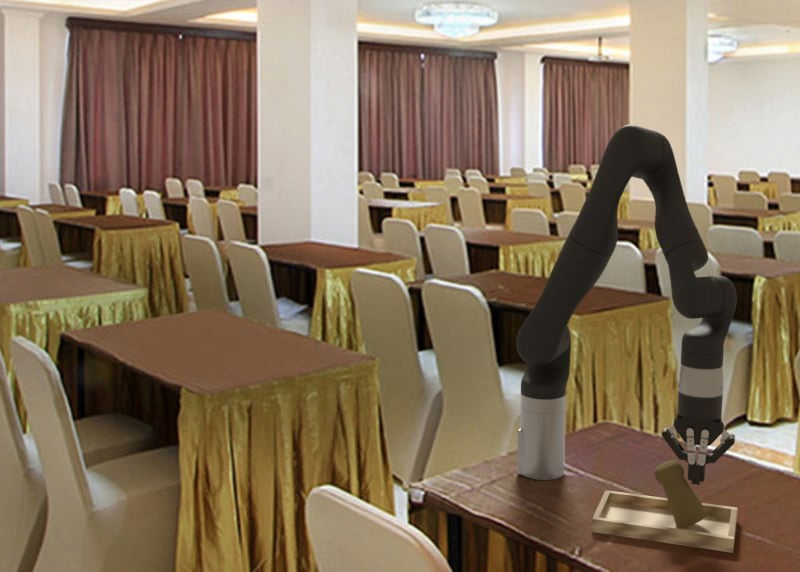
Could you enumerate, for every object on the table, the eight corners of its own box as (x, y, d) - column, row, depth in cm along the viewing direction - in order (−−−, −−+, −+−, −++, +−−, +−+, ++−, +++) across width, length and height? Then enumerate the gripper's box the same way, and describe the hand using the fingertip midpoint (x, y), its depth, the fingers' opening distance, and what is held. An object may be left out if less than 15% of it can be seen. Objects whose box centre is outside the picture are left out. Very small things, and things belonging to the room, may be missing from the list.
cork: (672, 523, 175) (645, 468, 175) (701, 508, 175) (674, 454, 175) (682, 530, 169) (654, 473, 169) (712, 514, 169) (685, 458, 169)
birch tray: (591, 531, 172) (592, 518, 171) (605, 502, 184) (605, 490, 184) (733, 552, 163) (733, 539, 162) (736, 520, 176) (737, 507, 175)
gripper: (741, 387, 168) (736, 480, 171) (663, 380, 173) (660, 470, 176) (739, 399, 161) (734, 495, 165) (659, 391, 166) (655, 485, 169)
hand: (695, 482), depth 170 cm, fingers closed
